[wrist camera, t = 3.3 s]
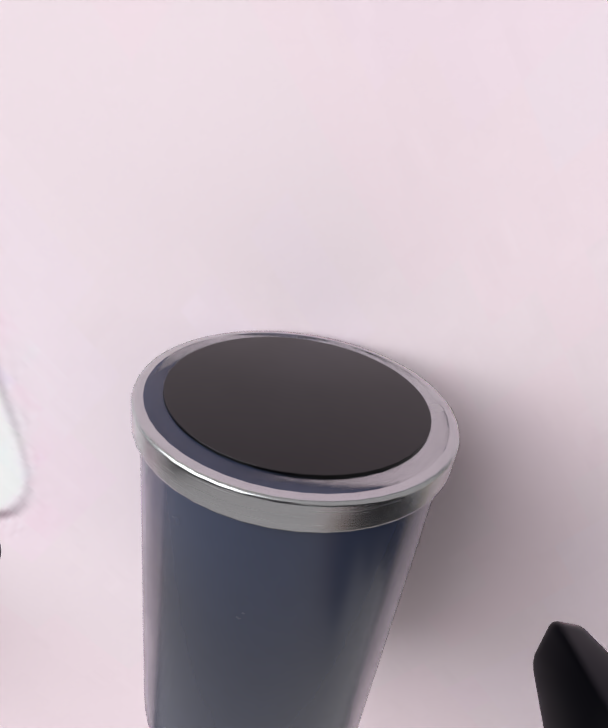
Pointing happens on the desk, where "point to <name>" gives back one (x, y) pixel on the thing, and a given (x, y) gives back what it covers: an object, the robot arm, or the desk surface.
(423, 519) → the navy blue tumbler
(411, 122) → the desk surface
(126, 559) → the desk surface
